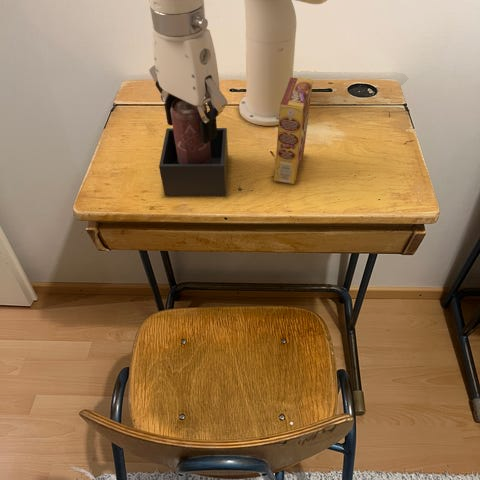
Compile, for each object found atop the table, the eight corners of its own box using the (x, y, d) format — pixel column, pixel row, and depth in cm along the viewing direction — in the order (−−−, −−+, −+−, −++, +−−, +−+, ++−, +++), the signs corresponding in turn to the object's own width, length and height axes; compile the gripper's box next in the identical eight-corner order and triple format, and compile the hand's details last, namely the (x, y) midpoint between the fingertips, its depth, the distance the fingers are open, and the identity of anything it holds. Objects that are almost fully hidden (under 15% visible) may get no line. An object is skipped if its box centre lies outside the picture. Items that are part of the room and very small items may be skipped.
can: (220, 173, 87) (215, 102, 76) (194, 189, 85) (185, 118, 73) (199, 160, 90) (191, 89, 78) (173, 175, 87) (161, 104, 76)
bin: (171, 158, 91) (166, 128, 86) (228, 158, 91) (226, 127, 86) (164, 196, 85) (158, 166, 80) (225, 196, 85) (223, 165, 79)
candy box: (296, 185, 86) (303, 107, 73) (273, 182, 87) (277, 104, 74) (305, 156, 91) (313, 78, 78) (283, 153, 91) (288, 75, 79)
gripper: (242, 25, 64) (244, 139, 78) (156, -7, 71) (173, 103, 85) (204, 46, 61) (213, 161, 75) (118, 10, 67) (142, 122, 82)
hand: (192, 130), depth 80 cm, fingers open, 7 cm apart
